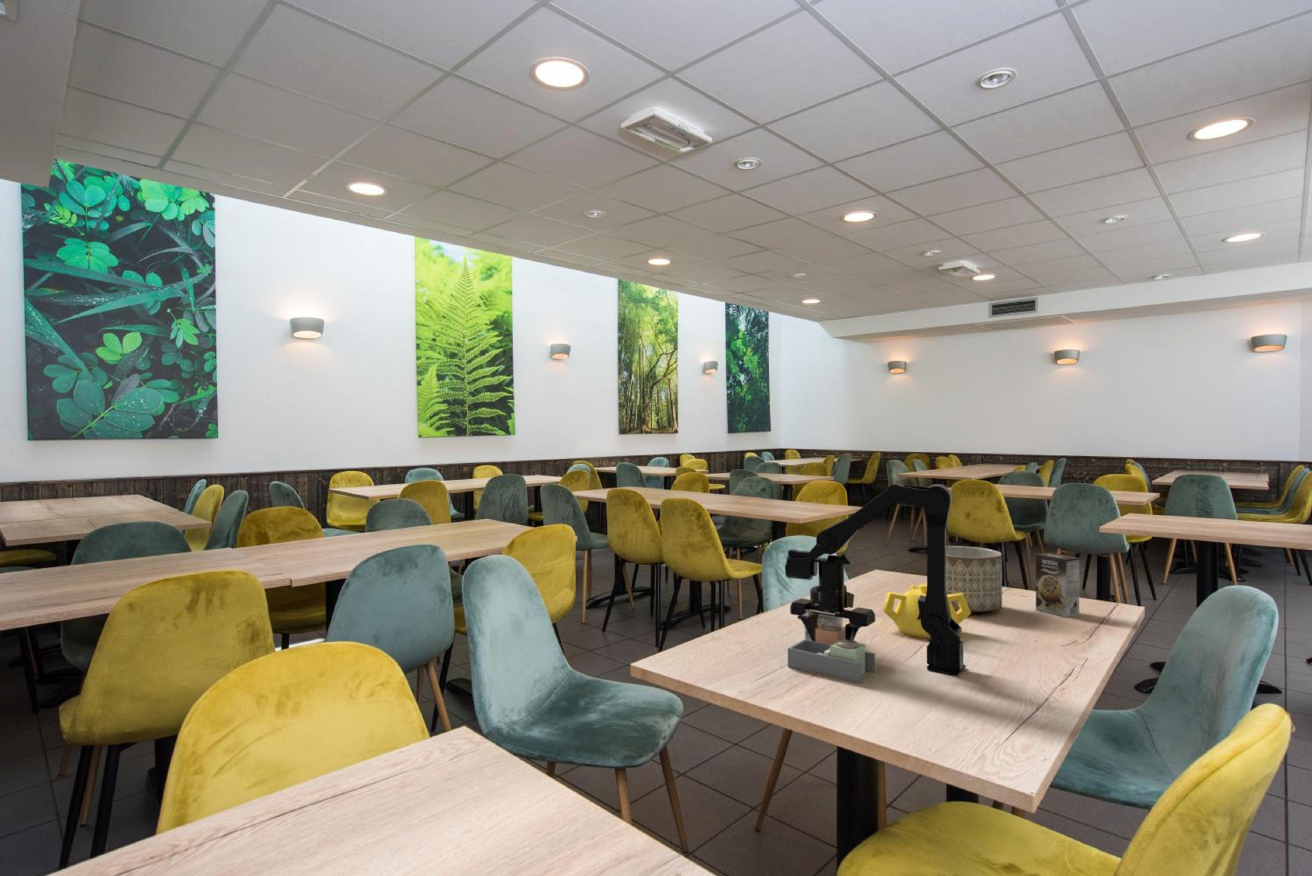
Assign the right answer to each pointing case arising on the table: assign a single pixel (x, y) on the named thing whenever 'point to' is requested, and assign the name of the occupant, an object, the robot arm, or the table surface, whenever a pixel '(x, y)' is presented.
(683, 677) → the table surface
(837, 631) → the orange block with dome
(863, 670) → the sage jar
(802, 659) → the lane
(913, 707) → the table surface
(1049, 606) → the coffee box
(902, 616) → the teapot
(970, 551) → the planter
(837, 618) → the container
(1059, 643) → the table surface
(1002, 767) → the table surface
